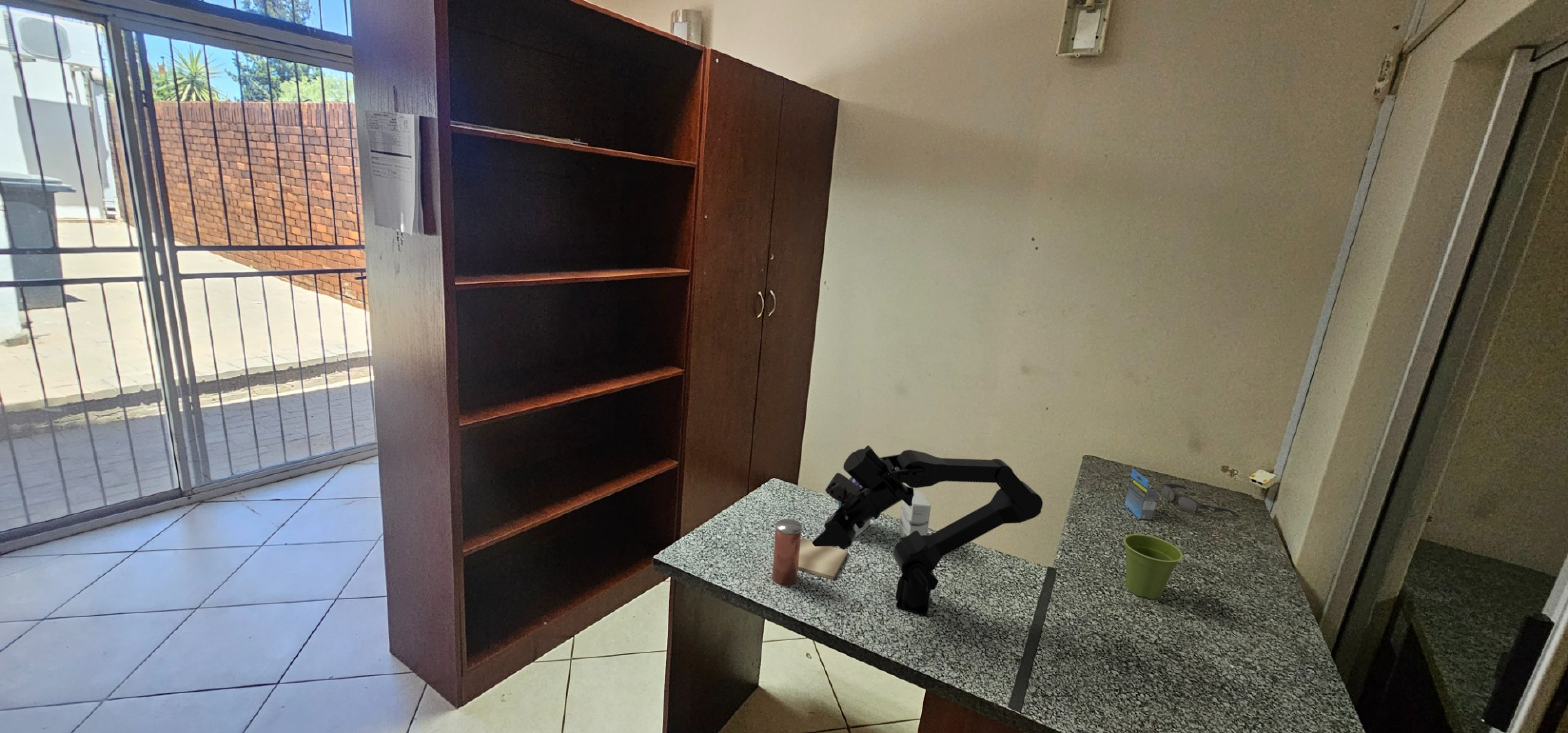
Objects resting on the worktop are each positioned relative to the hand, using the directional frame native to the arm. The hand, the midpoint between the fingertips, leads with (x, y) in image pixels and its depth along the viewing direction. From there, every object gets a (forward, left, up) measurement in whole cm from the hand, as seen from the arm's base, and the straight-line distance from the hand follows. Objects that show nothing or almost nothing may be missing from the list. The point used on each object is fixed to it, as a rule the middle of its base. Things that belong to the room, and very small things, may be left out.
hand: (820, 534), depth 130 cm
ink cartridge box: (-1, -29, -13) cm, 32 cm away
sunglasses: (-93, -96, -14) cm, 135 cm away
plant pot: (-69, -34, -13) cm, 78 cm away
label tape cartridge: (-75, -80, -13) cm, 110 cm away
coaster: (+3, -11, -13) cm, 17 cm away
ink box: (-16, -31, -13) cm, 37 cm away
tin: (+7, 0, -13) cm, 15 cm away
